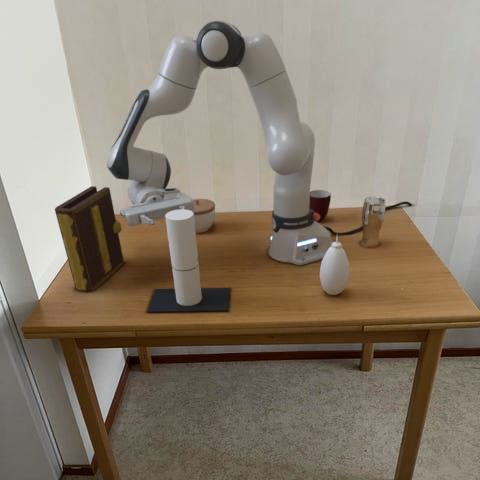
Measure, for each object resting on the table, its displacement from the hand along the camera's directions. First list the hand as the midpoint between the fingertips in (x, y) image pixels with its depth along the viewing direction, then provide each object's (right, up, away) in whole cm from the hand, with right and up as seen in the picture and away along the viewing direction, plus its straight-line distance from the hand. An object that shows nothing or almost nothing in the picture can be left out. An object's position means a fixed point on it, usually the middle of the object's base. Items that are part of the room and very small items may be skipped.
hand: (167, 219), depth 136 cm
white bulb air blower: (+46, -21, +2) cm, 51 cm away
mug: (+48, +9, +46) cm, 67 cm away
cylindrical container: (+6, -22, +2) cm, 23 cm away
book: (-23, -14, +18) cm, 32 cm away
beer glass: (+63, -3, +28) cm, 69 cm away
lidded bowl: (+5, +5, +43) cm, 44 cm away
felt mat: (+6, -23, +2) cm, 23 cm away
